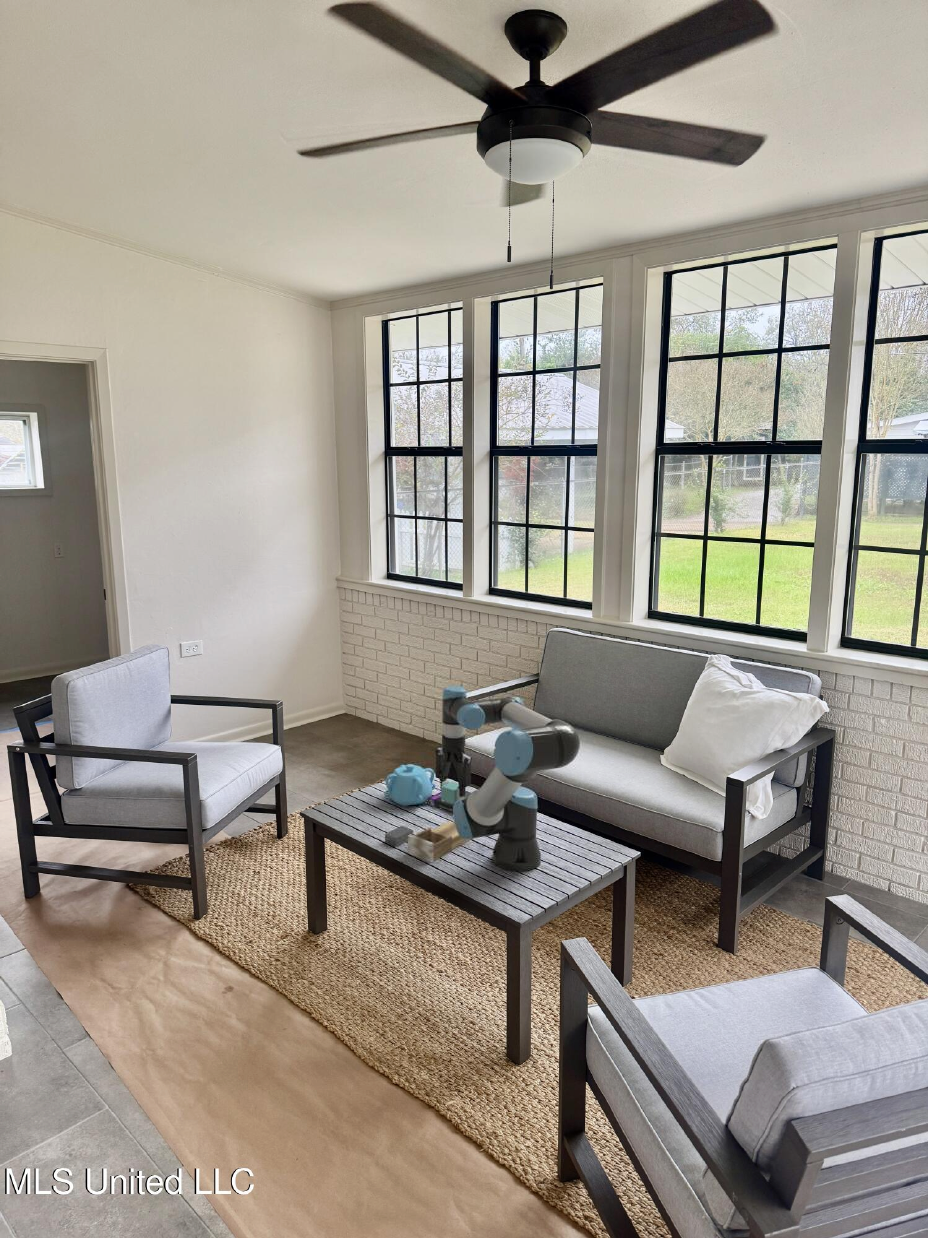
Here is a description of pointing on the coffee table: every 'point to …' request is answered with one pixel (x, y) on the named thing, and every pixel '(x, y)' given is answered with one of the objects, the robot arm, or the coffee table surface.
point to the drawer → (435, 842)
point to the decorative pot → (409, 785)
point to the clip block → (449, 792)
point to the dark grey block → (398, 836)
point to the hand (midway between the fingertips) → (452, 802)
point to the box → (445, 805)
